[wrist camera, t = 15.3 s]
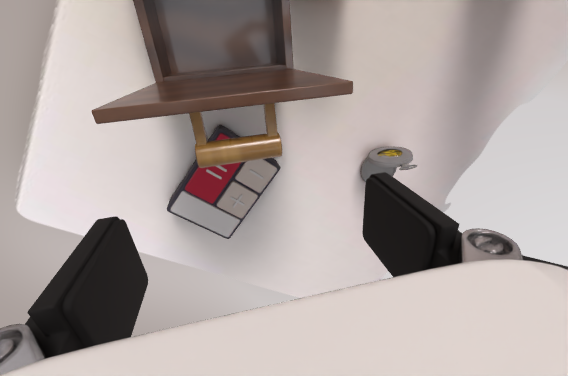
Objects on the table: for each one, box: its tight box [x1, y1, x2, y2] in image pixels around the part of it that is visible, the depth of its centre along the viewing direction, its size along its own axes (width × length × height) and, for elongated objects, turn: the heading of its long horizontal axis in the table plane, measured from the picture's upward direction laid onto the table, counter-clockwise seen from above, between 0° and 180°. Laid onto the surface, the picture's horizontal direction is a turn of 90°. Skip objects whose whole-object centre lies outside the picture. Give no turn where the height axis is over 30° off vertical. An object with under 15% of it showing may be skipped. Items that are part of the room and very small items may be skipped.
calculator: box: [167, 125, 280, 239], centre depth 43 cm, size 11×4×15 cm
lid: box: [92, 69, 353, 168], centre depth 25 cm, size 17×16×5 cm
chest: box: [133, 0, 293, 83], centre depth 31 cm, size 16×16×7 cm
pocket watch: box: [361, 147, 417, 182], centre depth 44 cm, size 8×8×10 cm
